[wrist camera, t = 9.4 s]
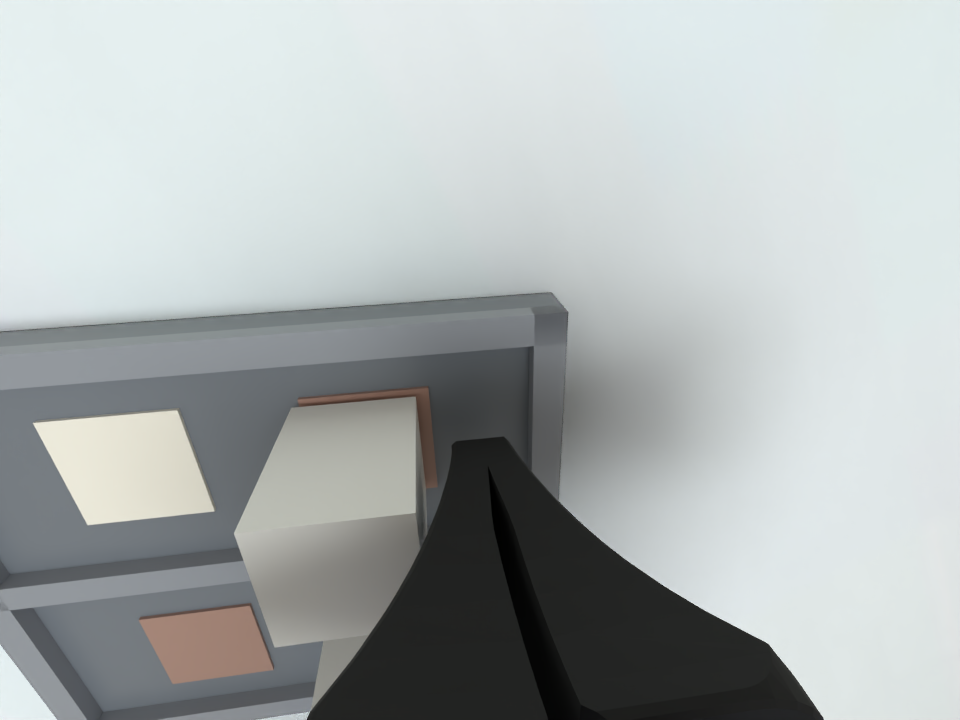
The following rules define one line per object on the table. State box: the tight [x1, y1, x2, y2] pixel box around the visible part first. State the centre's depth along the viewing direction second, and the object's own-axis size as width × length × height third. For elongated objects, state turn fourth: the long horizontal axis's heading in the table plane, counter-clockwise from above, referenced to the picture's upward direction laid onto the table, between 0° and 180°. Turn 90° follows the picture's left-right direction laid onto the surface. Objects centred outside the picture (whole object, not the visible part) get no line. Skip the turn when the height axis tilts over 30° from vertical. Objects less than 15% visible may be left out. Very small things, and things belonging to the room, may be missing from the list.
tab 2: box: [310, 635, 369, 712], centre depth 13 cm, size 3×3×4 cm
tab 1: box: [234, 397, 427, 647], centre depth 10 cm, size 3×3×4 cm
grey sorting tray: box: [0, 293, 568, 720], centre depth 14 cm, size 14×16×2 cm
